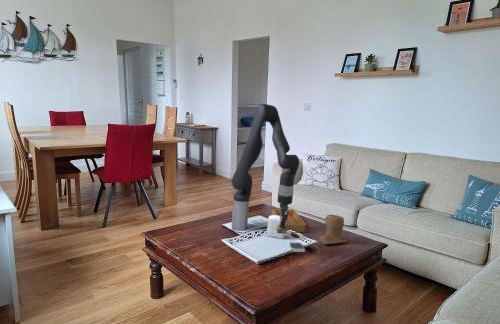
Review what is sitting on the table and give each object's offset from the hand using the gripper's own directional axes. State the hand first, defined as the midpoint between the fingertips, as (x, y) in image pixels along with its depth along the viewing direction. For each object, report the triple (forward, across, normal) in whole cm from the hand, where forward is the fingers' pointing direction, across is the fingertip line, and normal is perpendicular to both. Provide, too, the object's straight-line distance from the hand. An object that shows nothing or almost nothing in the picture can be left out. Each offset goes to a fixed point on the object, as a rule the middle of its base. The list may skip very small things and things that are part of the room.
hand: (282, 225), depth 177 cm
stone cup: (+12, -12, +31) cm, 35 cm away
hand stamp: (+3, 0, 0) cm, 3 cm away
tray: (+13, -38, +11) cm, 42 cm away
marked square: (+12, 0, +17) cm, 20 cm away
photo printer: (+13, -15, 0) cm, 20 cm away
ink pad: (+12, 0, +9) cm, 15 cm away
